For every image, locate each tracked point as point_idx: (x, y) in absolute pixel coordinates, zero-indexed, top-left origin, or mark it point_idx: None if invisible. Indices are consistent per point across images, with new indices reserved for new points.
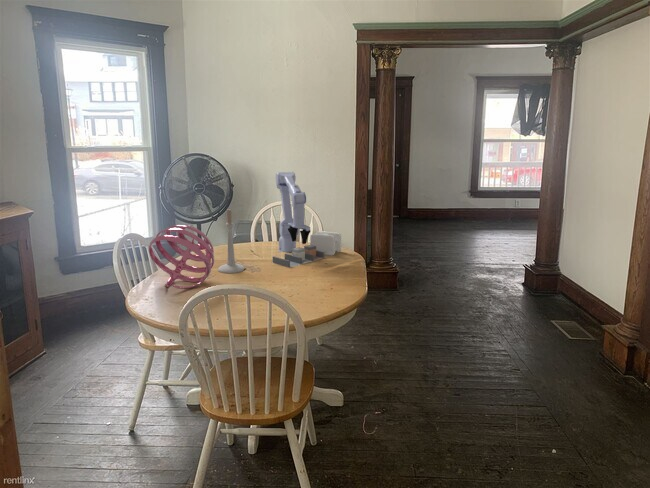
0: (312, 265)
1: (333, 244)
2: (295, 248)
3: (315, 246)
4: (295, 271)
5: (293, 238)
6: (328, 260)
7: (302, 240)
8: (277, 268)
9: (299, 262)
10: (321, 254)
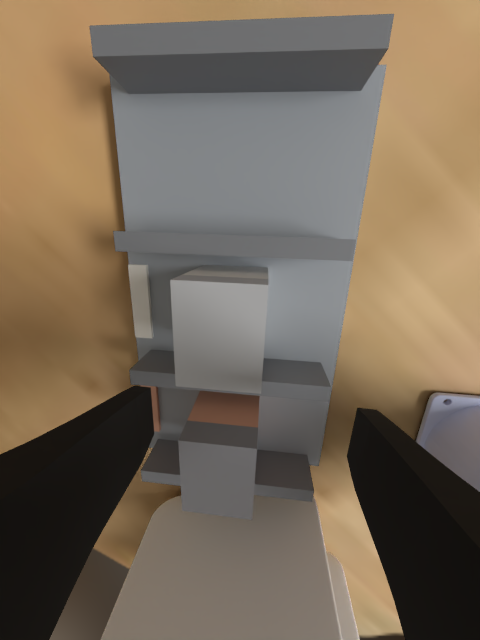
0: (105, 299)
1: (121, 590)
2: (252, 324)
3: (183, 499)
4: (46, 76)
5: (375, 456)
6: None
7: (96, 412)
8: (219, 6)
9: (147, 231)
10: (164, 457)
